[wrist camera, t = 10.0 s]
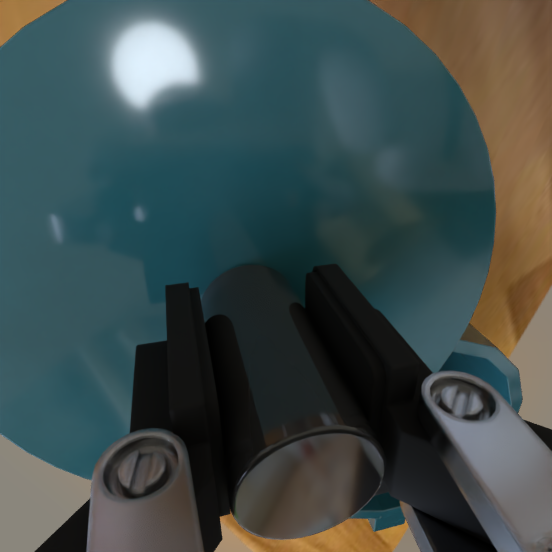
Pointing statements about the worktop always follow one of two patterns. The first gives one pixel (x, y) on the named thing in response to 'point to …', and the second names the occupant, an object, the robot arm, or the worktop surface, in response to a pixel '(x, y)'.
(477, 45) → the worktop surface
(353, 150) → the lid
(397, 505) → the pot
